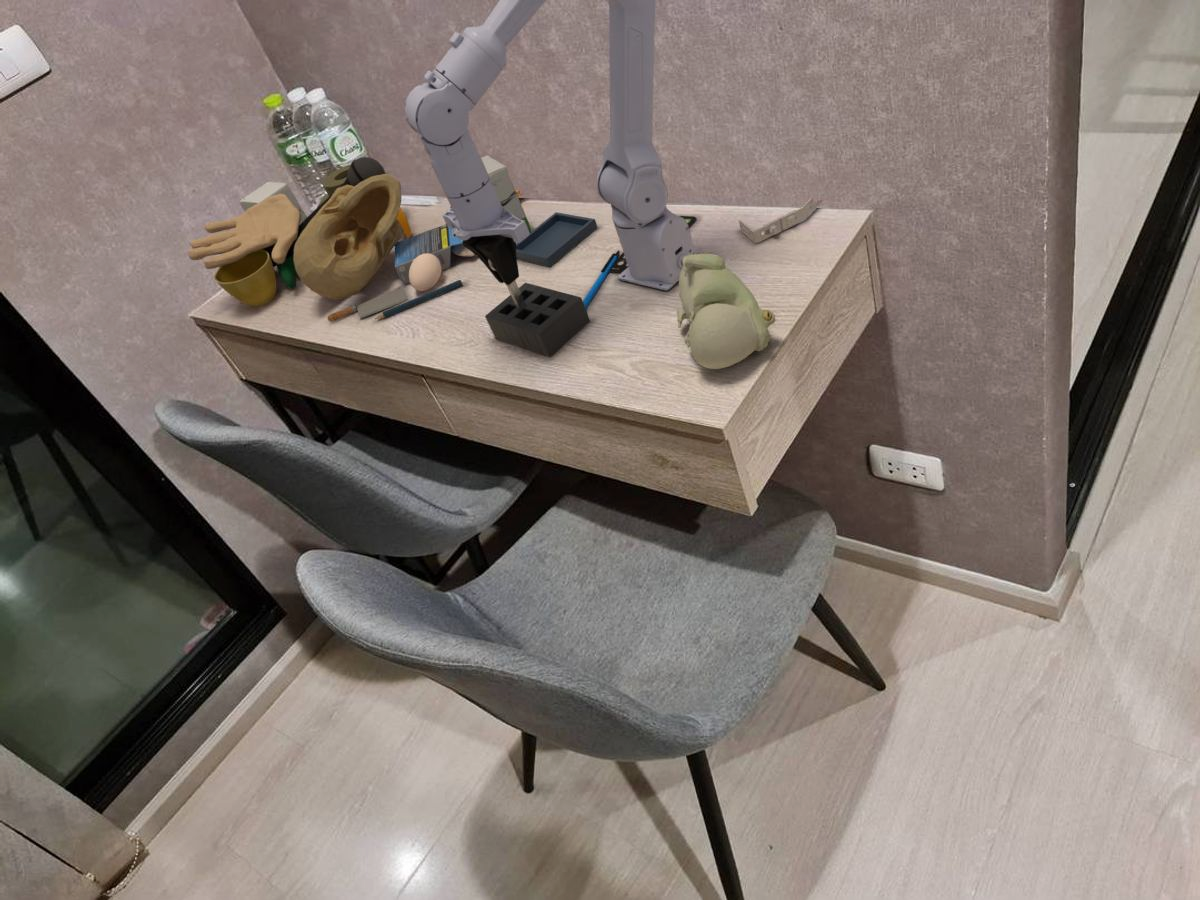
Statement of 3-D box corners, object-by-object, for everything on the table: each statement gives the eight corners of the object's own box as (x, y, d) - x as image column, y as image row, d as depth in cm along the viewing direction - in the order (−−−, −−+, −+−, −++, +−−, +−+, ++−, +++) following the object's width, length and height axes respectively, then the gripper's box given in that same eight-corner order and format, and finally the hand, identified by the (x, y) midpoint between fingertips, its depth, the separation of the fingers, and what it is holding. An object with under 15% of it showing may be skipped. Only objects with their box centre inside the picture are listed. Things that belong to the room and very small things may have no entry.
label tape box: (403, 285, 140) (473, 262, 140) (393, 264, 138) (464, 241, 137) (403, 260, 147) (470, 238, 147) (393, 240, 144) (461, 217, 144)
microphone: (307, 254, 151) (386, 181, 145) (281, 224, 149) (359, 149, 143) (322, 248, 157) (398, 178, 151) (296, 219, 155) (372, 147, 149)
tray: (597, 227, 134) (594, 218, 133) (550, 267, 130) (546, 258, 129) (559, 220, 140) (555, 212, 139) (512, 258, 136) (508, 249, 135)
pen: (622, 254, 126) (619, 247, 126) (570, 334, 115) (567, 328, 114) (616, 254, 127) (614, 247, 126) (564, 334, 115) (562, 328, 115)
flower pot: (258, 320, 149) (237, 286, 144) (225, 311, 154) (203, 278, 149) (299, 286, 154) (280, 253, 149) (265, 279, 159) (245, 246, 154)
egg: (427, 242, 135) (410, 274, 132) (452, 260, 137) (436, 292, 134) (413, 252, 138) (397, 284, 136) (437, 270, 141) (422, 301, 138)
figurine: (698, 326, 91) (790, 322, 92) (678, 236, 102) (760, 233, 103) (690, 393, 99) (775, 389, 100) (672, 303, 110) (748, 300, 110)
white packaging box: (294, 262, 162) (257, 203, 154) (273, 258, 166) (236, 201, 158) (322, 241, 165) (287, 182, 157) (302, 237, 170) (267, 180, 162)
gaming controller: (334, 269, 158) (315, 245, 159) (332, 260, 155) (312, 235, 155) (292, 296, 156) (272, 271, 156) (288, 287, 152) (268, 261, 152)
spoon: (532, 301, 115) (505, 240, 109) (515, 316, 113) (487, 254, 107) (529, 300, 115) (502, 239, 109) (512, 315, 114) (483, 253, 108)
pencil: (461, 283, 134) (374, 320, 134) (463, 285, 135) (376, 322, 135) (459, 279, 134) (372, 315, 134) (461, 280, 135) (374, 317, 135)
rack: (590, 321, 116) (581, 297, 113) (550, 357, 112) (539, 333, 110) (535, 305, 123) (525, 282, 121) (495, 338, 120) (484, 316, 117)
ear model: (367, 143, 136) (326, 213, 151) (304, 214, 125) (266, 282, 140) (433, 195, 140) (386, 258, 155) (378, 269, 129) (332, 329, 144)
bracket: (833, 173, 120) (738, 220, 119) (855, 187, 115) (756, 235, 115) (835, 185, 121) (741, 231, 120) (857, 199, 116) (759, 247, 116)
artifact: (453, 242, 147) (455, 269, 139) (446, 228, 145) (448, 255, 138) (490, 227, 146) (494, 253, 139) (483, 213, 145) (487, 239, 137)
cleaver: (409, 303, 137) (404, 289, 141) (406, 296, 136) (401, 282, 140) (332, 335, 136) (329, 320, 140) (328, 329, 135) (325, 314, 139)
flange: (396, 158, 151) (358, 150, 161) (328, 201, 146) (292, 190, 156) (408, 182, 154) (369, 172, 164) (341, 225, 149) (306, 213, 159)
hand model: (278, 187, 157) (187, 250, 154) (265, 169, 153) (171, 233, 150) (325, 241, 149) (229, 309, 146) (312, 223, 145) (213, 292, 142)
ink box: (533, 231, 140) (506, 164, 132) (507, 245, 139) (479, 179, 131) (513, 216, 146) (486, 152, 139) (488, 230, 145) (460, 166, 138)
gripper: (409, 197, 106) (454, 287, 114) (480, 210, 96) (524, 307, 105) (450, 167, 108) (491, 258, 117) (523, 177, 99) (562, 275, 108)
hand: (509, 279), depth 111 cm, fingers closed on spoon, 1 cm apart
